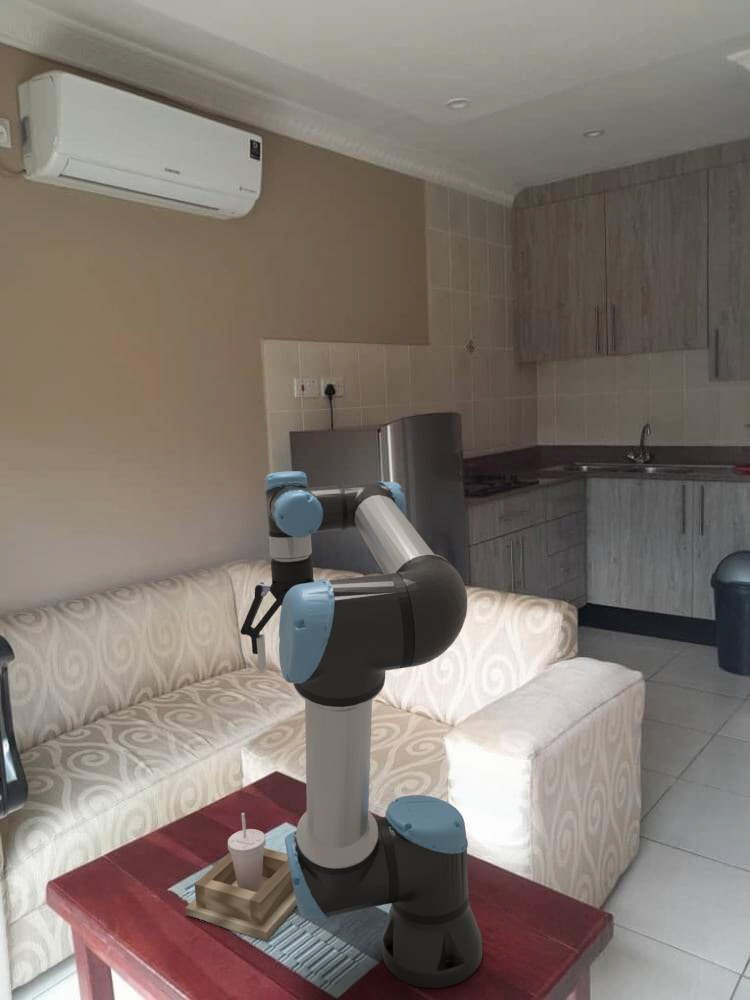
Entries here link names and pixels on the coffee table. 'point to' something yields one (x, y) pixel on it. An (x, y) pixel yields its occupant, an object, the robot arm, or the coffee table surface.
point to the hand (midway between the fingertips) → (298, 670)
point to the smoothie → (247, 856)
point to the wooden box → (246, 897)
